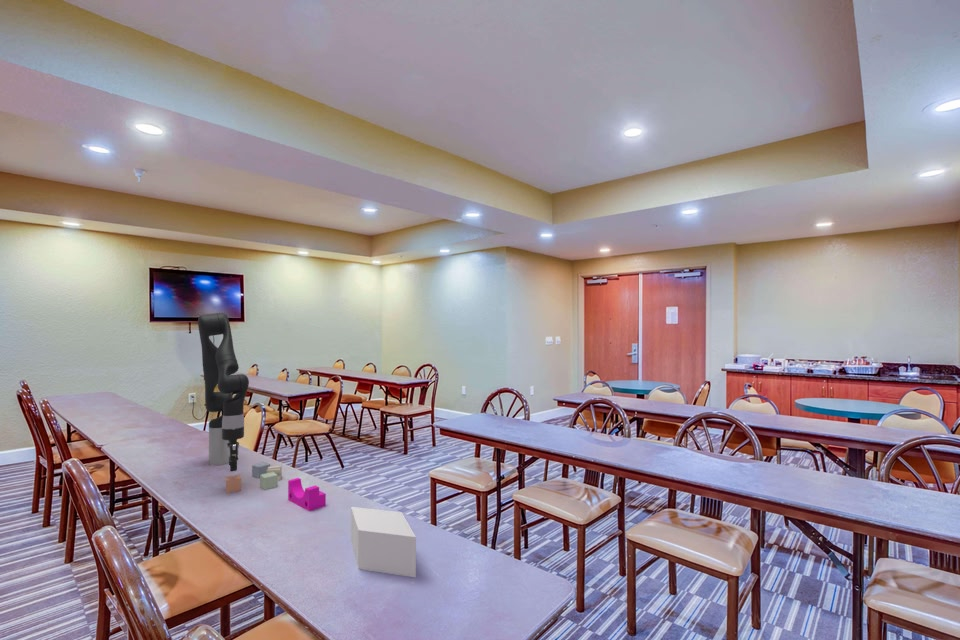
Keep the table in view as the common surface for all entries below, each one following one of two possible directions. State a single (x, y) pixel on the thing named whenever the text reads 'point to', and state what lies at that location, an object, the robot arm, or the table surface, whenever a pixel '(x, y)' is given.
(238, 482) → the cube terracotta
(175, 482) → the table surface
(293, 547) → the table surface
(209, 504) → the table surface
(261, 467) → the cube slate
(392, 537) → the white rectangular block
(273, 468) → the cube cream
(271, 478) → the cube sage
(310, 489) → the toy block
